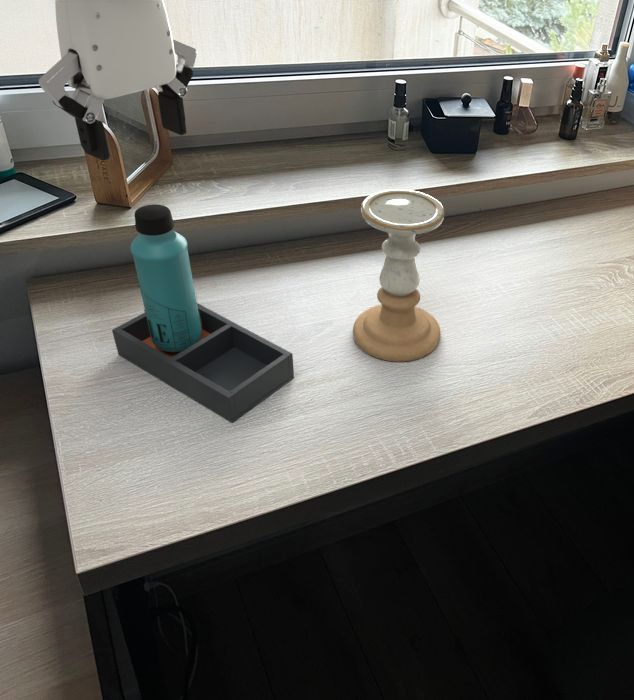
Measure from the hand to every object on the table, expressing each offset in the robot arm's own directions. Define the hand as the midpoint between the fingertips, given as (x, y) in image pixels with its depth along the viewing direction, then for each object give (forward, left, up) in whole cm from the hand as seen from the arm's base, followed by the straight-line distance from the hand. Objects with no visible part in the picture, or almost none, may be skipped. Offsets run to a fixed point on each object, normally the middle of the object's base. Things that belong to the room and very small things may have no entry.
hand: (137, 143), depth 77 cm
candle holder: (+21, -20, -29) cm, 41 cm away
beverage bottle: (0, 0, -28) cm, 28 cm away
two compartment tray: (0, -5, -29) cm, 29 cm away
